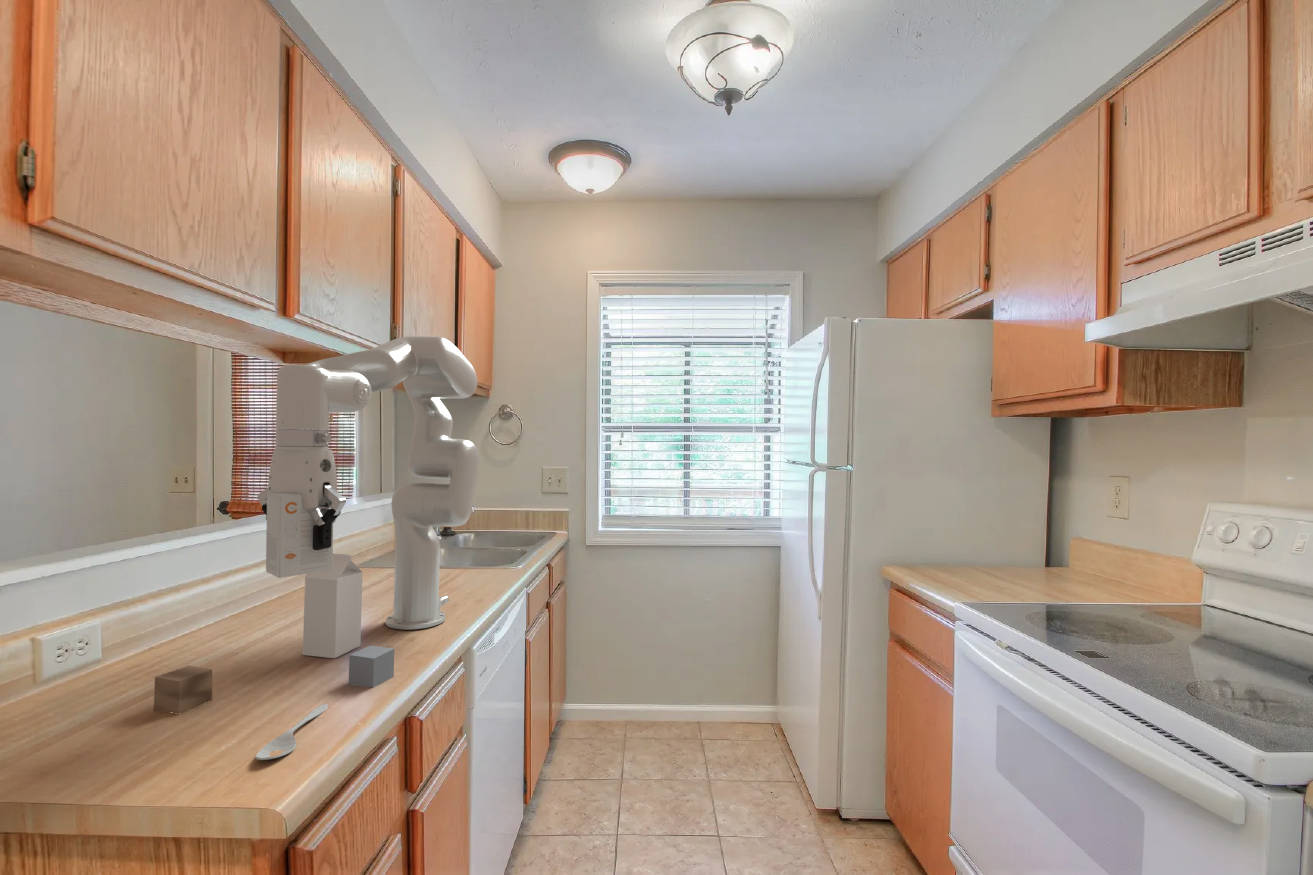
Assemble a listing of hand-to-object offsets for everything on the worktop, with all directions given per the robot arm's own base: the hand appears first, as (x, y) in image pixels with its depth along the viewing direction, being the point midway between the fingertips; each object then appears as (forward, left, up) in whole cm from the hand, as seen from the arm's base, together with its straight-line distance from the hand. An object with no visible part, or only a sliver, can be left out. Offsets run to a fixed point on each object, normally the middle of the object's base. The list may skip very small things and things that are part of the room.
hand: (299, 546), depth 98 cm
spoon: (+9, +11, -25) cm, 28 cm away
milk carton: (-17, -9, -24) cm, 31 cm away
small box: (0, 0, -4) cm, 4 cm away
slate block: (-8, +8, -24) cm, 26 cm away
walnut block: (+9, -12, -24) cm, 28 cm away
